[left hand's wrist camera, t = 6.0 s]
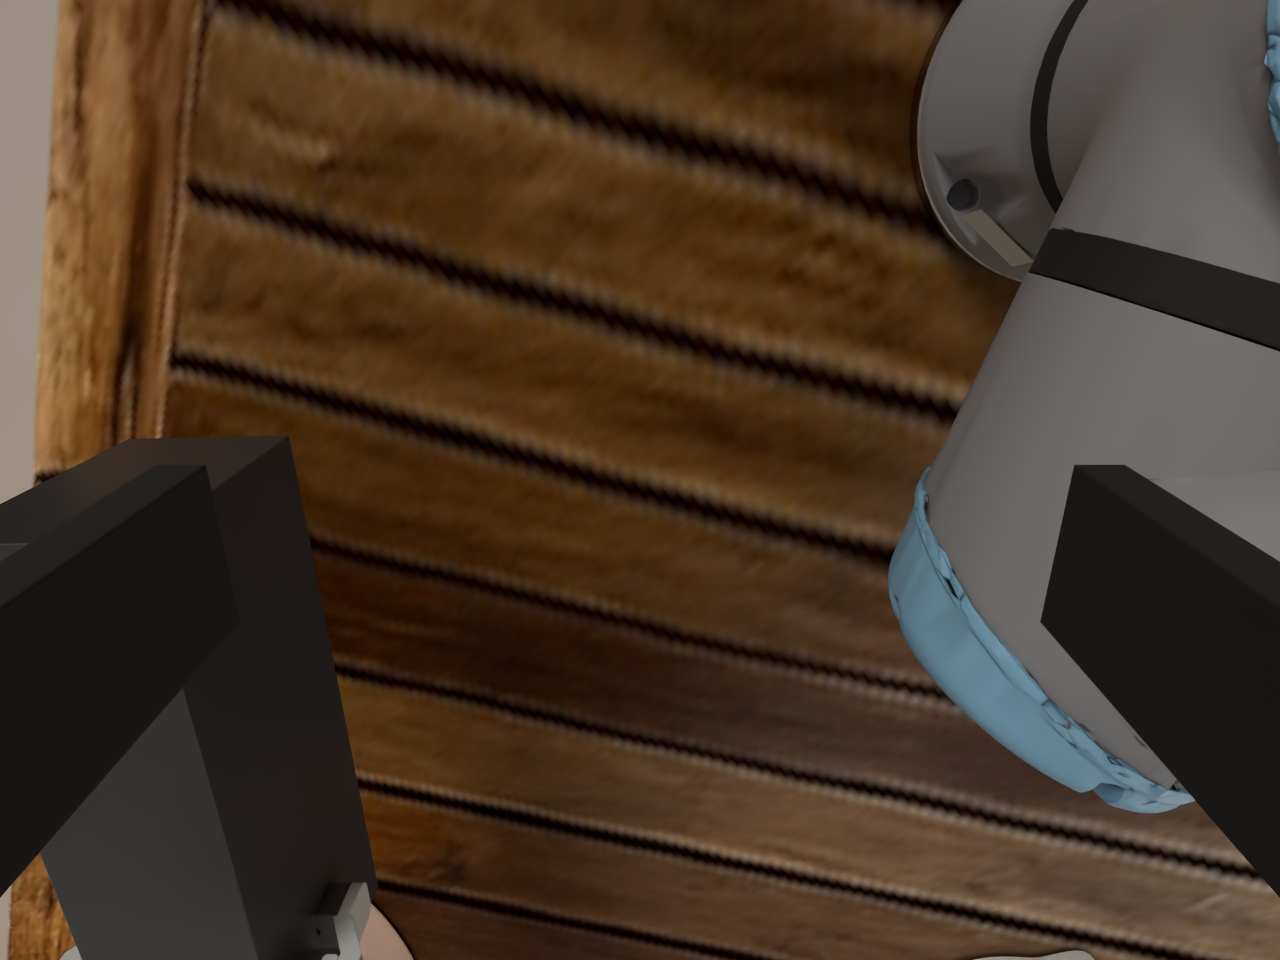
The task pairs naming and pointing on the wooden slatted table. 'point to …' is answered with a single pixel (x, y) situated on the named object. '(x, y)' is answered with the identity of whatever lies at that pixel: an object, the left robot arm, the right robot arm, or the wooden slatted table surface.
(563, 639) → the wooden slatted table surface
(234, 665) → the box
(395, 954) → the anatomical model
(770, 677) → the wooden slatted table surface
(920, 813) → the wooden slatted table surface
